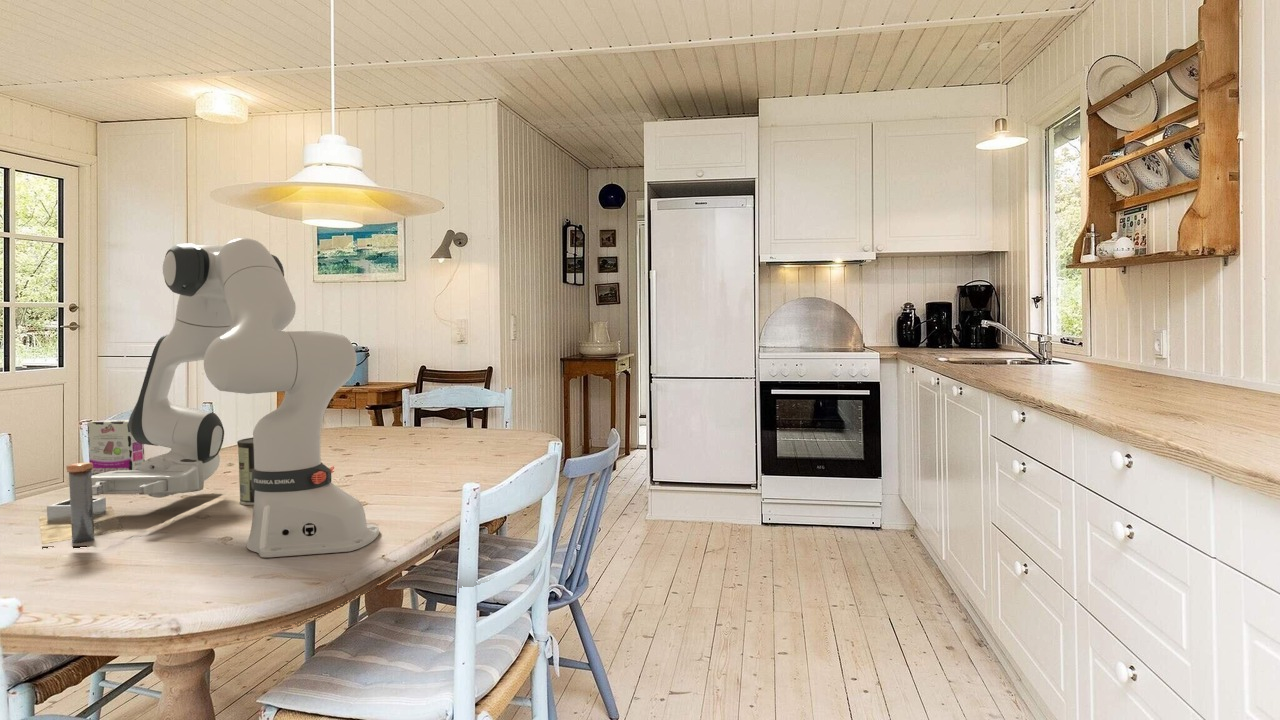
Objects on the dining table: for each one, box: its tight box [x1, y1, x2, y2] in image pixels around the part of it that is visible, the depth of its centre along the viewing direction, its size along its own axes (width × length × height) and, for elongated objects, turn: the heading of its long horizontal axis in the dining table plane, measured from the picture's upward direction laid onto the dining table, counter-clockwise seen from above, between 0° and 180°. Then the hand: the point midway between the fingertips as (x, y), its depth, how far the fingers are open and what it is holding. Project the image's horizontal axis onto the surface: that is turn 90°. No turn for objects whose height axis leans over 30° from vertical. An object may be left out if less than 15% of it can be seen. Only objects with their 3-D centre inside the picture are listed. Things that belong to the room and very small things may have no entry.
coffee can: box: [237, 437, 254, 506], centre depth 163 cm, size 10×10×14 cm
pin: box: [65, 462, 95, 549], centre depth 129 cm, size 4×4×15 cm
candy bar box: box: [86, 419, 146, 476], centre depth 179 cm, size 11×5×16 cm, turn 87°
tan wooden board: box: [38, 506, 124, 550], centre depth 141 cm, size 24×12×1 cm, turn 41°
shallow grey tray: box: [46, 497, 107, 521], centre depth 146 cm, size 7×7×3 cm
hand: (117, 490), depth 139 cm, fingers open, 8 cm apart
